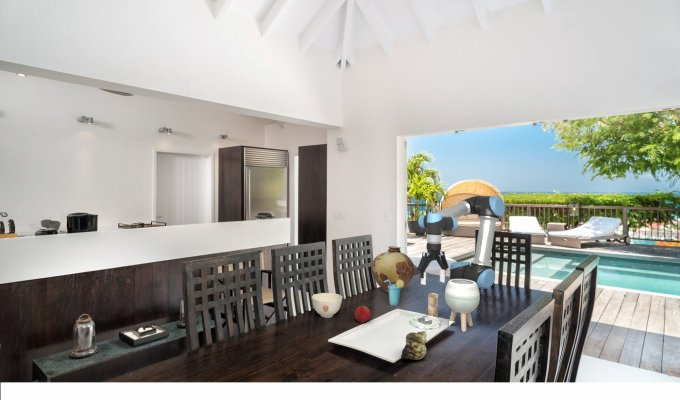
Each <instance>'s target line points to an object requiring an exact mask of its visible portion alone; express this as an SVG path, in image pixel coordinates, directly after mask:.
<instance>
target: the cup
mask: <svg viewBox="0 0 680 400" xmlns="http://www.w3.org/2000/svg"><path fill="white" fill-rule="evenodd" d="M387 281H389V285H388V290H389V292H388V299H389V302H388V303H389V305H390V306H399V304H400V297H401V296H400V295H401V290H400V289H401V288H402V287H403V285H404V283H403V281H402V280H400V279H399V280H397V281H396V285H391V283H390V280H386V281H384V282H387Z"/></svg>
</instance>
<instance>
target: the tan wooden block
mask: <svg viewBox="0 0 680 400" xmlns="http://www.w3.org/2000/svg"><path fill="white" fill-rule="evenodd" d="M427 295H428V296H427V316H428V315H429V316H433V317H436V318H438V316H439V315H438V313H439V312H438V311H439V310H438V309H439V308H438V307H439V304H438V303H439V294H438V293H435V292H431V293H428V294H427Z"/></svg>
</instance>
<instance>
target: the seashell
mask: <svg viewBox="0 0 680 400" xmlns="http://www.w3.org/2000/svg"><path fill="white" fill-rule="evenodd" d="M426 344H427V331H425V330H424V331H423V330H422V331H418V332H413V331H412V332H409V333H407V334H406V335H405V346H404V347H403V348H402V350H401V355H400V357H401V358H402V359H406V360H414V361H418V360H422V359H423V358H424V357H425V356H426V354H427V347H426Z"/></svg>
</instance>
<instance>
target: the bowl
mask: <svg viewBox="0 0 680 400" xmlns="http://www.w3.org/2000/svg"><path fill="white" fill-rule="evenodd" d="M311 301H312V305H313V309H314V311H316V313H317V314H318V315H320V317H321V318H324V319H329V318H333V317H334V315H335V314H336V313H337V312H339V310H340V308H341V306H342V305H341V304H342V302H343V296H342V295H341V294H338V293H332V292H321V293H316V294H314V295H311Z"/></svg>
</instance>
